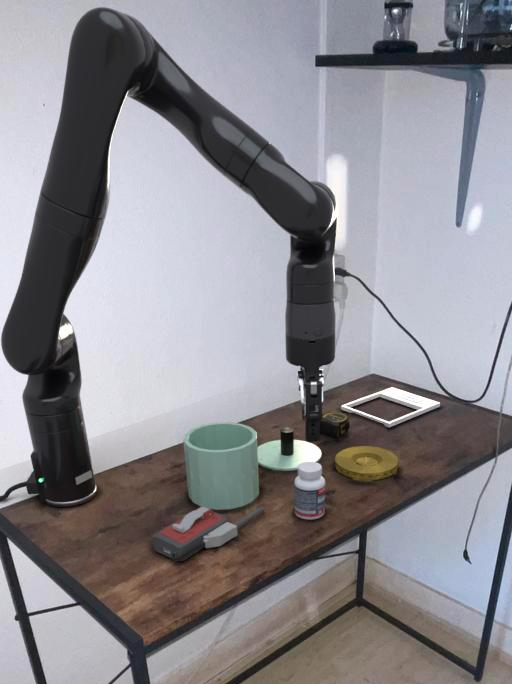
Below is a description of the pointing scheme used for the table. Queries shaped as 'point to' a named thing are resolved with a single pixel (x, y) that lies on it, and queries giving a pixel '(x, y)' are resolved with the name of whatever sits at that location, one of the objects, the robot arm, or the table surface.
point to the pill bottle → (309, 491)
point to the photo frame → (398, 397)
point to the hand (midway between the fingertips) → (310, 429)
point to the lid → (287, 452)
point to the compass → (366, 463)
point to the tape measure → (334, 424)
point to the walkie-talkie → (197, 533)
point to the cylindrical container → (222, 465)
